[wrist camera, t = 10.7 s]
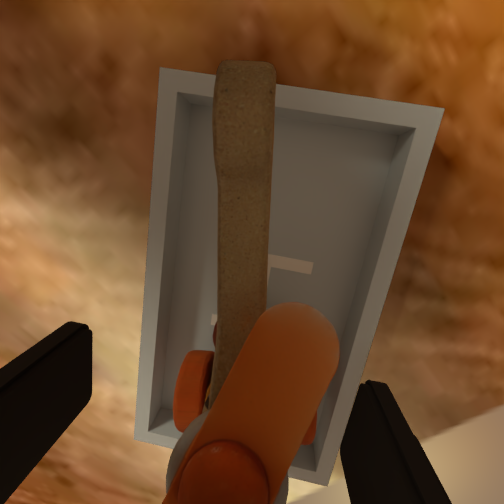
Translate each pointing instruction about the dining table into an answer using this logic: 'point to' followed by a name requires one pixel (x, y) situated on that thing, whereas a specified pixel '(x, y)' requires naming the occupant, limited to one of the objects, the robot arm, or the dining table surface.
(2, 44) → the dining table surface
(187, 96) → the tray
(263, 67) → the toy helicopter
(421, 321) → the dining table surface
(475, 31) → the dining table surface
